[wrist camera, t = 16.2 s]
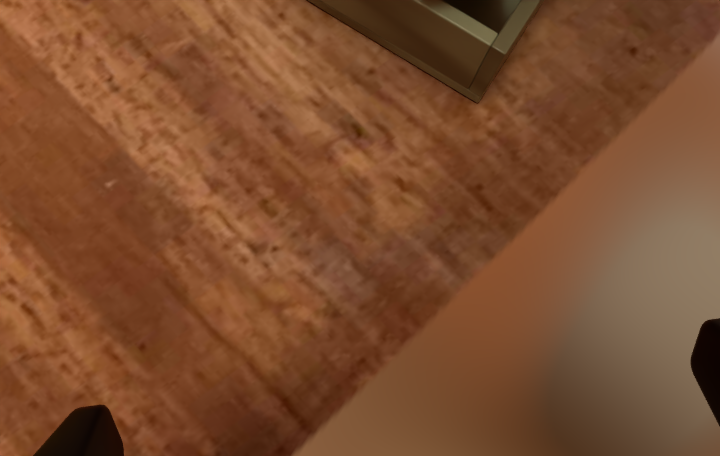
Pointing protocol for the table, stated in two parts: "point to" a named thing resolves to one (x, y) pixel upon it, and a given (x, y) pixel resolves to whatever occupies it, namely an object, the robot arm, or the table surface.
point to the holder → (443, 34)
